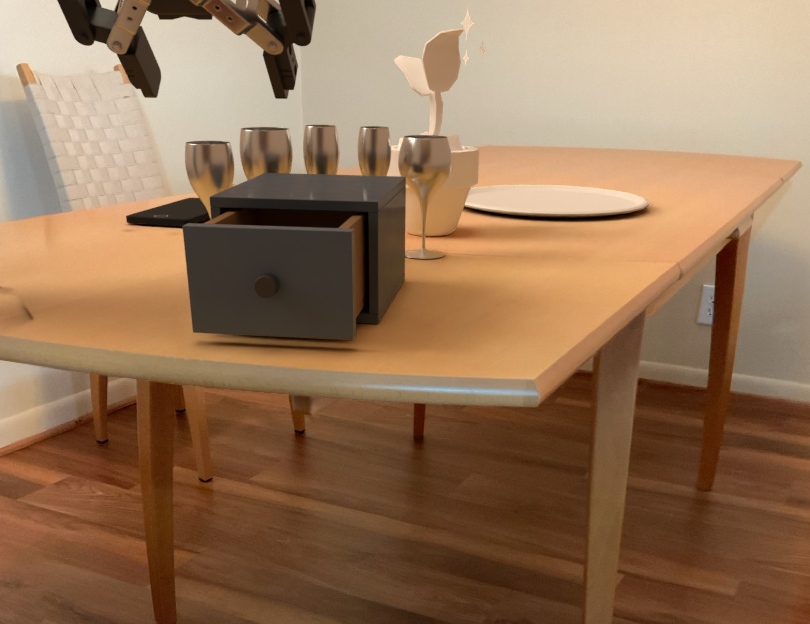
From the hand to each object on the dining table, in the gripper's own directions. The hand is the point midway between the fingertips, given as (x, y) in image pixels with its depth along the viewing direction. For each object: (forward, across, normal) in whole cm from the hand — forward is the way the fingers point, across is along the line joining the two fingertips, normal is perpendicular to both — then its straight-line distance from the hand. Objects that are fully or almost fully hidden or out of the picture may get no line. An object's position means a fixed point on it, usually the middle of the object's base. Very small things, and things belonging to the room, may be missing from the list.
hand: (218, 87), depth 58 cm
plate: (+70, -23, -45) cm, 87 cm away
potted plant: (+52, -8, -27) cm, 59 cm away
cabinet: (+26, -2, -2) cm, 27 cm away
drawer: (+19, -2, +5) cm, 20 cm away
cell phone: (+56, +25, -32) cm, 69 cm away
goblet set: (+38, +1, -13) cm, 40 cm away
